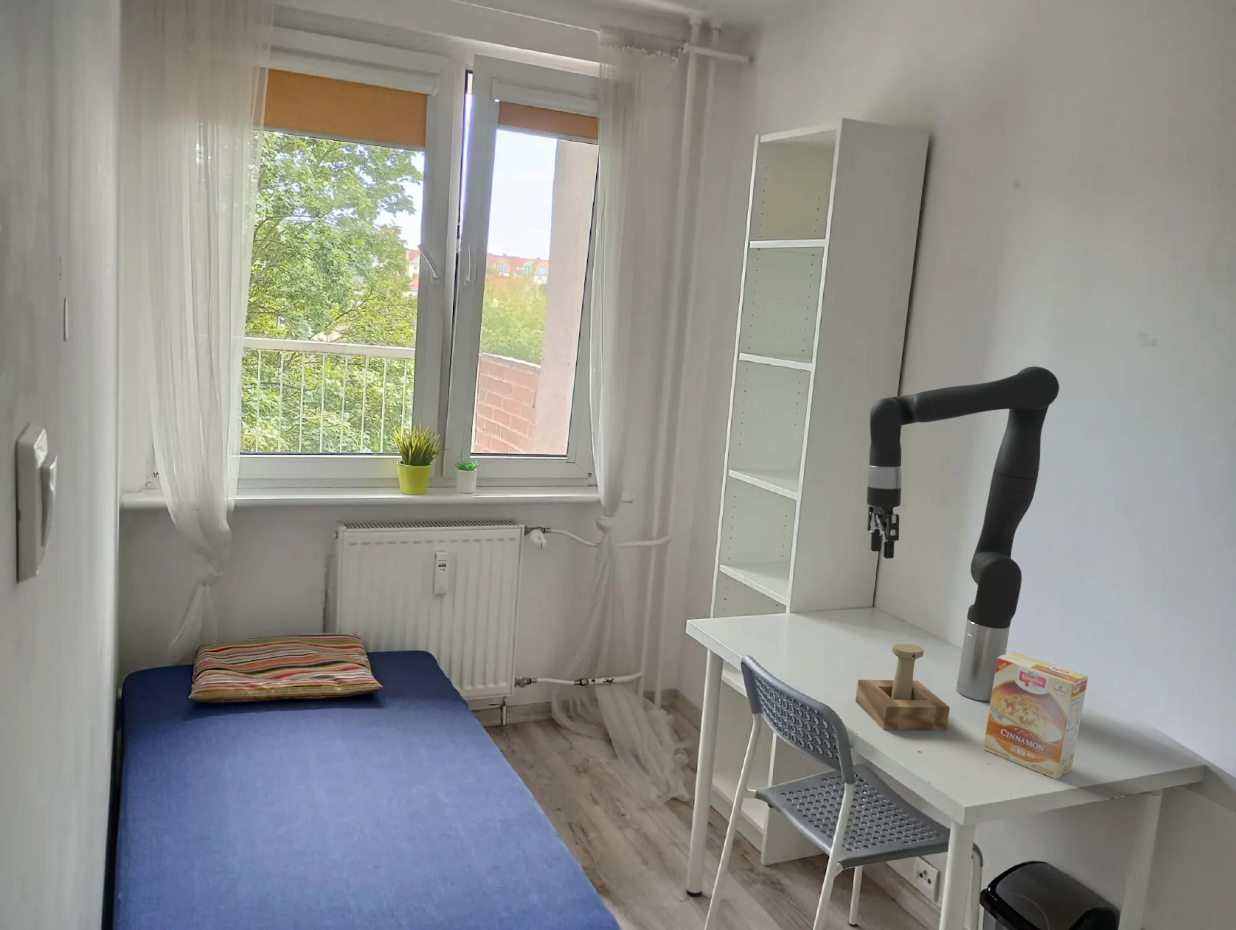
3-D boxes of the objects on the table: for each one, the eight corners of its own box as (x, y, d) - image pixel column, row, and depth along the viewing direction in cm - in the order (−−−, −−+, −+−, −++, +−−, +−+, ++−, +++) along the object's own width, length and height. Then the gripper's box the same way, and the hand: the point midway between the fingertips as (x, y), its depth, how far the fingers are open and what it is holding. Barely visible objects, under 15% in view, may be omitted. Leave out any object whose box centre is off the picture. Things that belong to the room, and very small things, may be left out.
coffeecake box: (981, 749, 192) (996, 656, 188) (998, 740, 196) (1013, 650, 193) (1056, 780, 181) (1073, 682, 178) (1072, 770, 186) (1089, 675, 182)
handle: (917, 719, 204) (928, 652, 201) (890, 720, 202) (900, 652, 199) (905, 709, 208) (915, 643, 206) (879, 710, 207) (888, 643, 204)
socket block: (914, 701, 213) (917, 680, 212) (946, 730, 199) (949, 707, 199) (855, 701, 210) (858, 679, 210) (883, 729, 197) (886, 706, 196)
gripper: (911, 489, 215) (909, 560, 216) (889, 481, 229) (886, 548, 230) (878, 489, 214) (876, 560, 216) (858, 481, 228) (856, 548, 230)
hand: (881, 554), depth 223 cm, fingers open, 8 cm apart
